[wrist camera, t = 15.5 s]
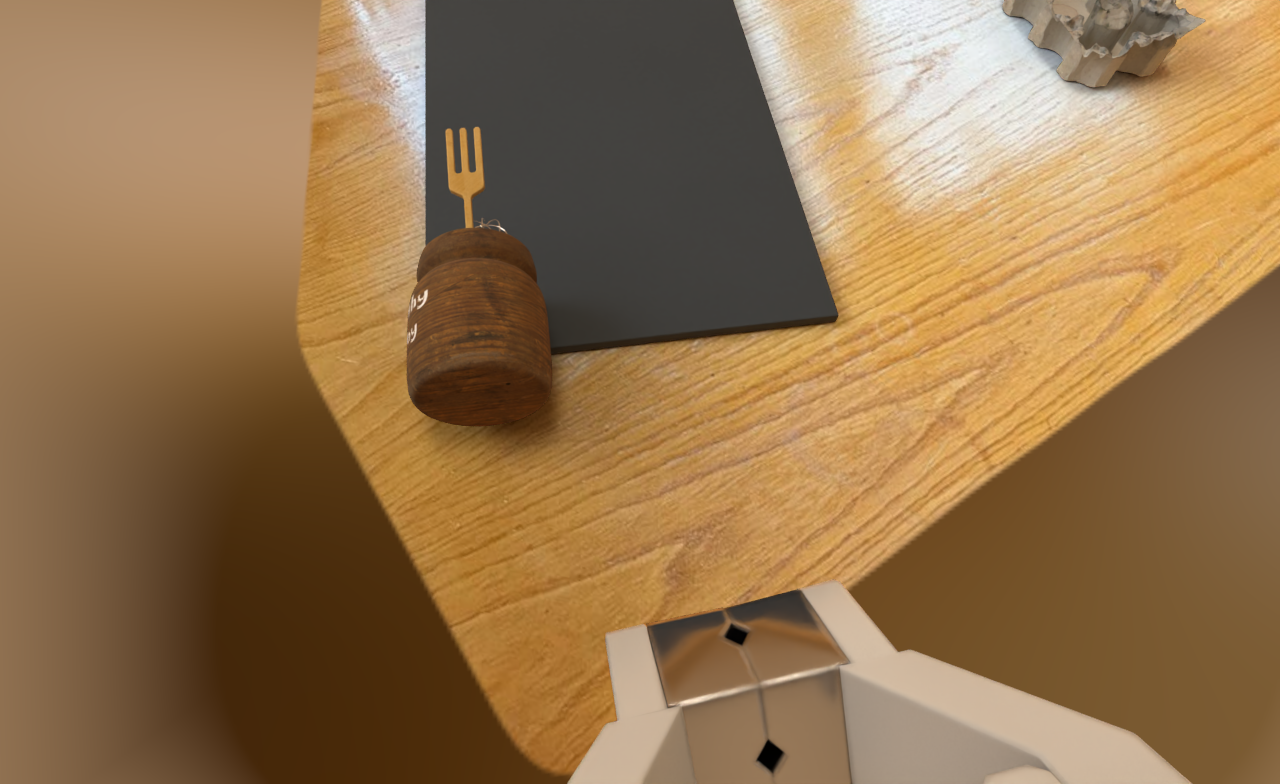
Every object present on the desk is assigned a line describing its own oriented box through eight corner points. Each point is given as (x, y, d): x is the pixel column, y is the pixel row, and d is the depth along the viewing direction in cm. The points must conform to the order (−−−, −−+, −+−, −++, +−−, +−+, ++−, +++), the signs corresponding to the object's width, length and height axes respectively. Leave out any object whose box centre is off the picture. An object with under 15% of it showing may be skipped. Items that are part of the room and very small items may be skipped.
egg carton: (985, -6, 48) (1014, -69, 45) (1083, -20, 49) (1119, -83, 46) (1066, 96, 43) (1106, 35, 40) (1173, 78, 44) (1222, 16, 41)
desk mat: (428, 368, 34) (425, 362, 33) (427, -63, 50) (425, -72, 50) (836, 322, 35) (839, 315, 35) (702, -81, 52) (703, -90, 52)
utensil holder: (558, 423, 32) (541, 218, 37) (548, 352, 26) (529, 123, 32) (425, 436, 31) (427, 226, 37) (385, 367, 26) (394, 131, 31)
